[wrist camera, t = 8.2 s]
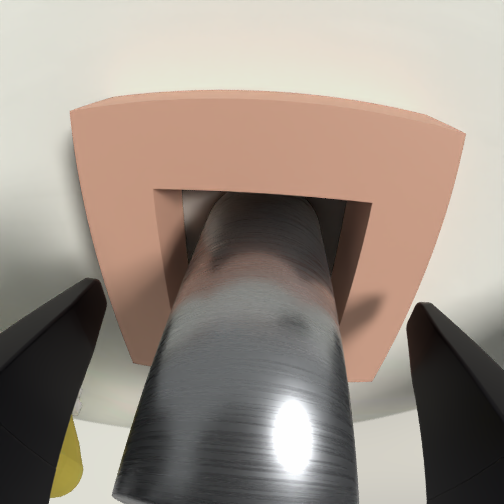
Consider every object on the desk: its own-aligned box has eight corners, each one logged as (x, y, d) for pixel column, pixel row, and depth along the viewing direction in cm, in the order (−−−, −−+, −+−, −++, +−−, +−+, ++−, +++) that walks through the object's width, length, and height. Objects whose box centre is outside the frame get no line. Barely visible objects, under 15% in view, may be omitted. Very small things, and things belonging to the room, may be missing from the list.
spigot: (327, 186, 10) (404, 501, 2) (311, 283, 12) (325, 532, 5) (204, 178, 10) (67, 469, 3) (208, 275, 12) (148, 515, 5)
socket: (426, 114, 8) (465, 133, 6) (363, 337, 14) (372, 381, 12) (112, 97, 8) (69, 111, 6) (150, 321, 14) (133, 363, 12)
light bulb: (34, 377, 20) (-8, 470, 12) (33, 342, 17) (-26, 459, 9) (100, 414, 22) (69, 511, 14) (114, 389, 19) (73, 515, 10)
